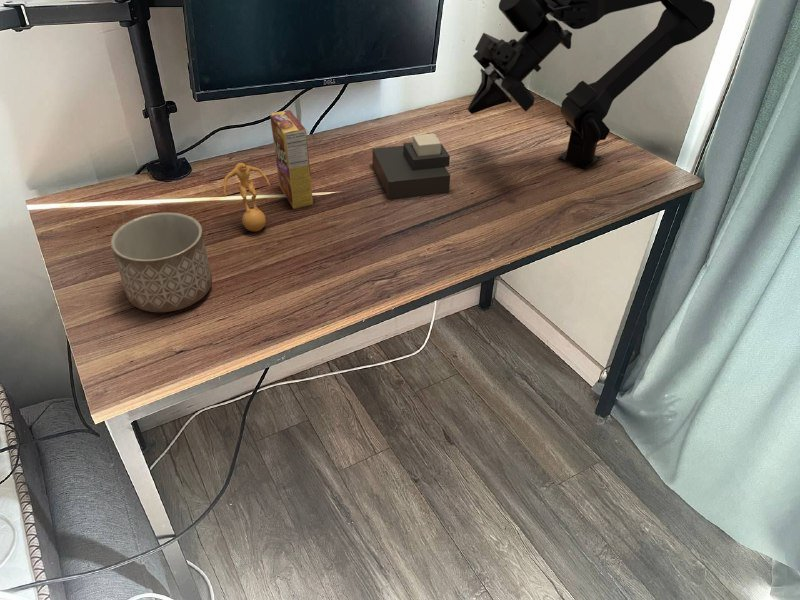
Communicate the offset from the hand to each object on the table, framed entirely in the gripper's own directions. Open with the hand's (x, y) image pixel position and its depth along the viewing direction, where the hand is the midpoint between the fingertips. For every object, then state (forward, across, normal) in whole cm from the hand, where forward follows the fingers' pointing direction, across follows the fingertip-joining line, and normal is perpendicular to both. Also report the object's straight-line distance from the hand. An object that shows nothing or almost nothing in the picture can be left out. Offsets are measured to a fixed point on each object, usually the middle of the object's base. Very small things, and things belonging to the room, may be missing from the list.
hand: (469, 111), depth 125 cm
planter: (+50, +26, -31) cm, 64 cm away
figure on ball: (+40, +11, -21) cm, 46 cm away
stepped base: (+17, 0, +1) cm, 17 cm away
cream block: (+11, 0, -1) cm, 11 cm away
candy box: (+34, +2, -15) cm, 37 cm away
